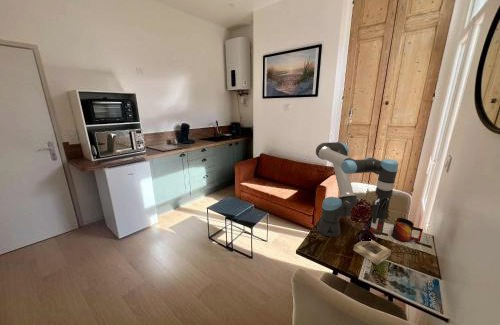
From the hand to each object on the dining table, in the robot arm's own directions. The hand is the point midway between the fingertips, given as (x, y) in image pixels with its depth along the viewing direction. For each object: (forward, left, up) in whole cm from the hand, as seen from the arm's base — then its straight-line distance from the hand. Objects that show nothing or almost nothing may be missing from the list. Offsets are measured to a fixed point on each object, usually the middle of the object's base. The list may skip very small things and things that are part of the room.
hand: (376, 225), depth 115 cm
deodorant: (0, 0, -4) cm, 4 cm away
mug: (+3, +32, -19) cm, 37 cm away
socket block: (0, 0, -18) cm, 18 cm away
